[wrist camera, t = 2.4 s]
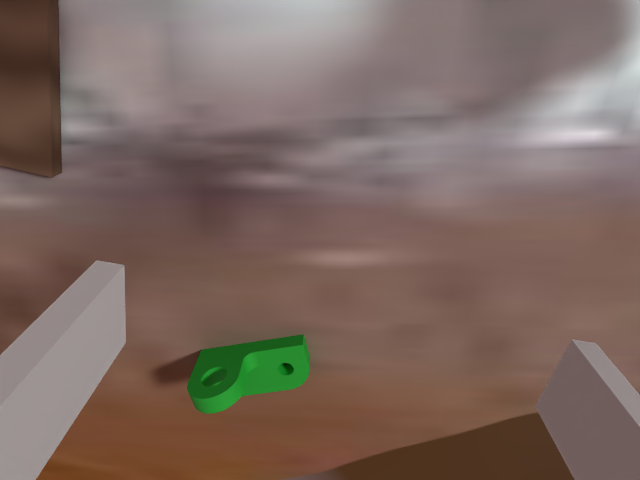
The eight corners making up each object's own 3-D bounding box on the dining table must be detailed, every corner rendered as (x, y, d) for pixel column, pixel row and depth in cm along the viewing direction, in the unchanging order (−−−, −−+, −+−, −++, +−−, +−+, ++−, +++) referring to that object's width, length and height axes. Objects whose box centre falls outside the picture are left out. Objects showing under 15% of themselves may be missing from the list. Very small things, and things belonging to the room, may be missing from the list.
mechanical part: (217, 387, 52) (199, 444, 45) (201, 348, 50) (180, 402, 43) (314, 373, 51) (312, 429, 44) (303, 333, 49) (299, 385, 41)
